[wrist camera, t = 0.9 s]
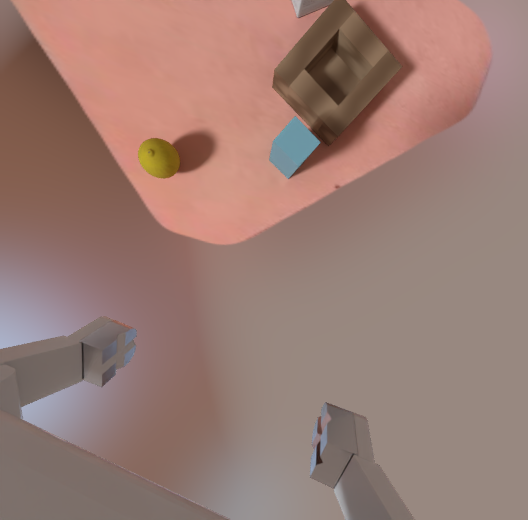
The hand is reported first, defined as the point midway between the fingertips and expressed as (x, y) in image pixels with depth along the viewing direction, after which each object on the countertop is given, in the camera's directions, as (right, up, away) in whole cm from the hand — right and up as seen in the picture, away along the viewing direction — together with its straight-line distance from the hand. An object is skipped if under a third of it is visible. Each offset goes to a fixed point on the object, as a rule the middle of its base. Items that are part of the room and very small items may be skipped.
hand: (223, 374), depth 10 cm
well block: (+12, +33, +31) cm, 47 cm away
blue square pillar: (+5, +21, +33) cm, 39 cm away
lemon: (-14, +21, +32) cm, 41 cm away
